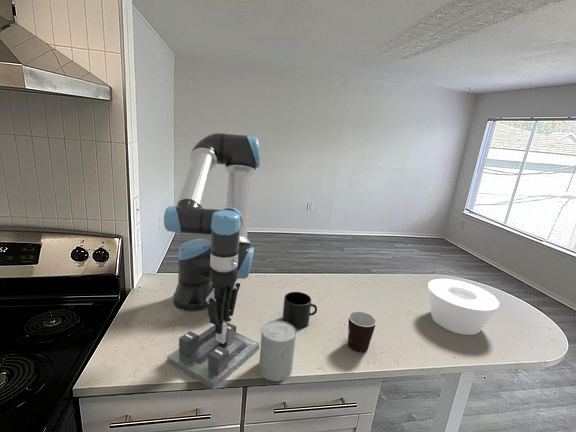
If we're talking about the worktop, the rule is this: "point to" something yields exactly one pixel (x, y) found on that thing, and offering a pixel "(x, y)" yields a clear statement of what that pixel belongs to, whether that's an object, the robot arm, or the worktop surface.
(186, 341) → the block
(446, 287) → the bowl
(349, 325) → the dark brown tapered cylinder
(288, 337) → the grey stone cylinder
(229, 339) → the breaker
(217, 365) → the breaker
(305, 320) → the mug
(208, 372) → the panel
